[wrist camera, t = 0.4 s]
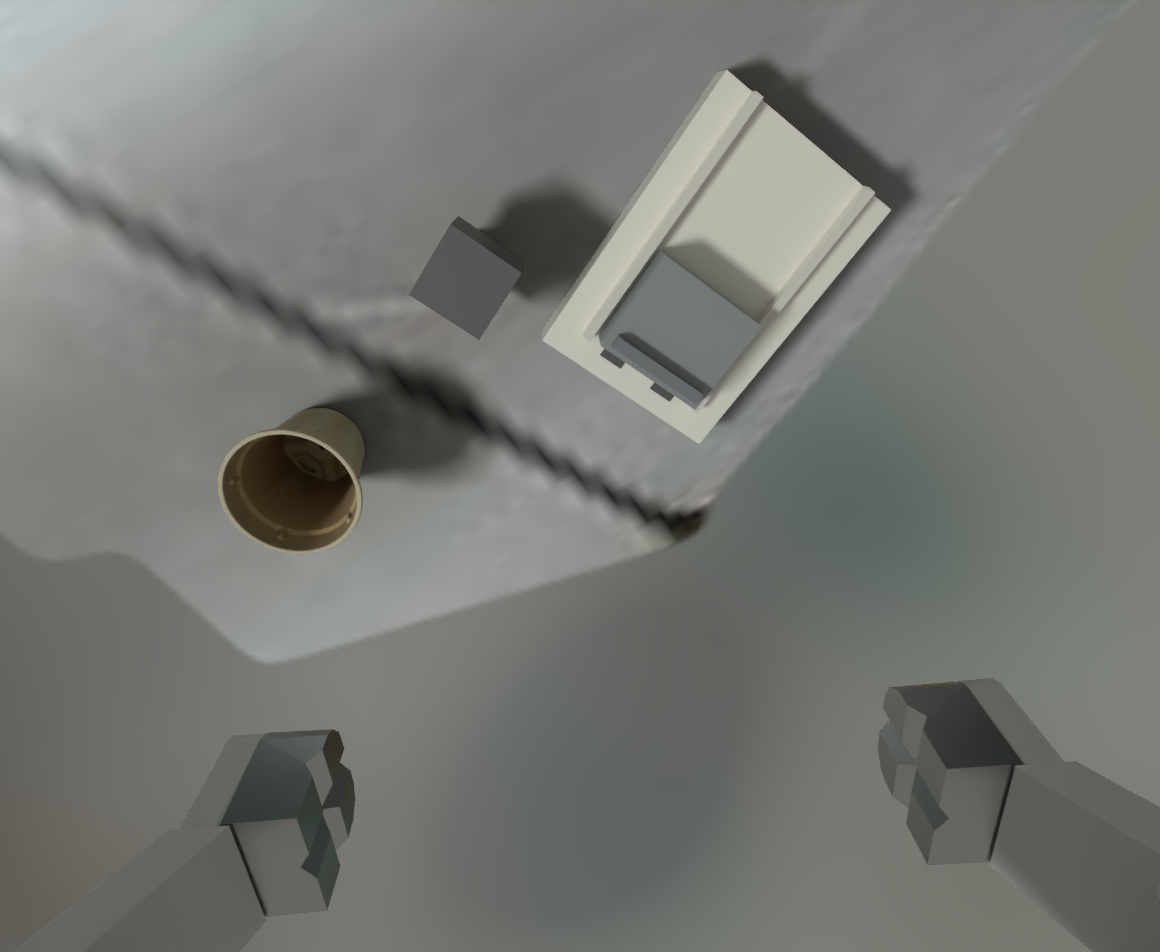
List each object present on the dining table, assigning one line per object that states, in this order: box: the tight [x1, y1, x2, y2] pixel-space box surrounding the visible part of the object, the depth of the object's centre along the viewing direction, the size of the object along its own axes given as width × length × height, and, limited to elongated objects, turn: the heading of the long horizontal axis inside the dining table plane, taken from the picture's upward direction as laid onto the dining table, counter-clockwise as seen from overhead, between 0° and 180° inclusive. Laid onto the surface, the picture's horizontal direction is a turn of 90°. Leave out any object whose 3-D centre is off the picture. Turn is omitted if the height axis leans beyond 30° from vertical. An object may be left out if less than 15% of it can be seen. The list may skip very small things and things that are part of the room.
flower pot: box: [218, 408, 365, 555], centre depth 53 cm, size 9×9×9 cm
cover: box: [599, 249, 762, 410], centre depth 49 cm, size 7×8×3 cm
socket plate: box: [542, 70, 891, 444], centre depth 50 cm, size 20×14×4 cm
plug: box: [409, 216, 524, 339], centre depth 48 cm, size 5×5×7 cm
